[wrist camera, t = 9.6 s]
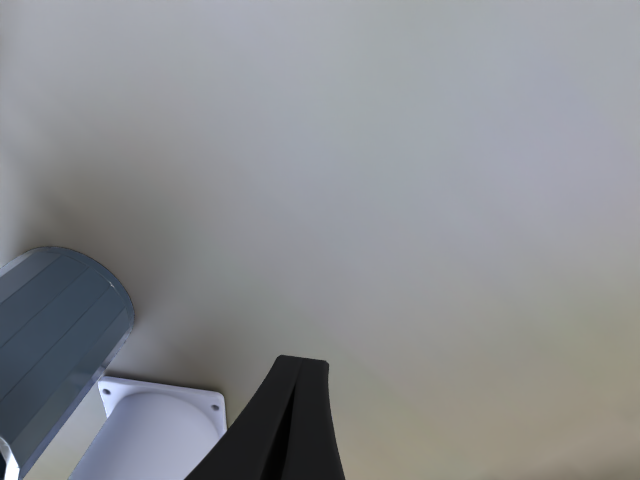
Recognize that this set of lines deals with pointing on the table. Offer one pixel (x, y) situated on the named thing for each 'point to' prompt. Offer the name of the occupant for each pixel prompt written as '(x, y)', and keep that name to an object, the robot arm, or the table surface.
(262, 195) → the table surface
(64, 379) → the pen pot
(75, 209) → the table surface
